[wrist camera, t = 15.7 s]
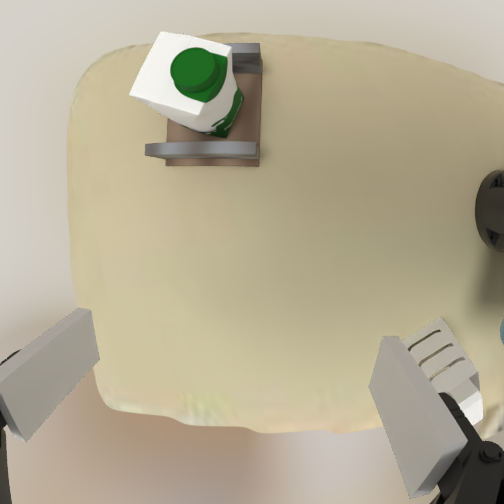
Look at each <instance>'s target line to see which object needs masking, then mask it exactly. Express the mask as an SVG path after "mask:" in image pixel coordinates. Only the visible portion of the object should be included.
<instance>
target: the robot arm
mask: <svg viewBox="0 0 504 504" xmlns="http://www.w3.org/2000/svg"><path fill="white" fill-rule="evenodd" d="M476 222H477V227H478V231H479V233H480V236H481V238H482V239H483V241H484V242H485V243H486V244H487V245H488V246H489V247H490V248H492V249H495V250H497V251H500V252H504V170H498V171H494V172H492V173H490V174H489V175H488V176H487V177H486V178H485V179H484V181H483V183H482V184H481V186H480V189H479V192H478V195H477V200H476ZM500 337H501V340H502V343H503V345H504V318H503V321H502V324H501V327H500ZM99 360H100V357H99V352H98V347H97V342H96V337H95V331H94V325H93V319H92V312H91V310H88V309H83V308H78V309H76V310H75V311H74V312H72V313H71V314H69V315H68V316H66V317H65V318H64V319H62V320H61V321H59V322H58V323H57V324H55V325H54V326H53V327H51V328H50V329H48V330H47V331H46V332H44V333H43V334H42V335H40V336H39V337H38V338H36V339H35V340H33V341H32V342H31V343H30V344H28V345H27V346H25V347H24V348H23V349H21V350H18V351H16V352H14V353H13V354H11V355H10V356H9V357H8V358H7V359H5V360H4V361H2V362H1V364H0V504H12V501H11V494H10V487H9V479H8V467H7V451H6V434H5V431H4V429H3V427H5V426H6V425H8V427H9V429H10V430H11V432H12V434H13V435H14V436H15V437H17V438H19V439H20V440H22V441H24V442H27V441H28V440H29V439H30V438H31V436H32V435H33V434H34V433H35V432H36V430H37V429H38V428H39V427H40V426H41V425H42V423H43V422H44V421H45V420H46V419H47V417H49V415H50V414H51V413H52V412H53V411H54V410H55V409H56V407H57V406H58V405H59V404H60V403H61V402H62V401H63V400H64V398H65V397H66V396H67V395H68V394H69V393H70V392H71V390H72V389H73V388H74V387H75V386H76V385H77V384H78V383H79V382H80V381H81V379H82V378H83V377H84V376H85V375H86V374H87V373H88V372H89V370H91V368H92V367H93V366H94V365H95V364H96V363H97V362H98V361H99ZM369 389H370V392H371V394H372V397H373V399H374V402H375V404H376V407H377V409H378V412H379V414H380V417H381V420H382V422H383V425H384V427H385V430H386V433H387V435H388V438H389V441H390V444H391V446H392V449H393V452H394V455H395V457H396V460H397V463H398V465H399V469H400V471H401V474H402V477H403V480H404V483H405V486H406V489H407V492H408V495H409V498H410V499H411V498H416V497H420V496H424V495H427V494H430V492H431V491H432V490H433V489H434V488H435V486H436V485H438V487H439V489H440V492H439V494H438V495H437V496H436V497H435V498H434V499H433V501H432V502H431V503H430V504H504V451H503V450H502V448H501V447H500V446H499V445H497V444H496V443H493V442H490V441H482V440H481V438H480V437H479V435H478V434H477V432H476V430H475V429H474V428H473V426H472V424H471V423H470V421H469V420H468V418H467V417H465V414H464V413H463V411H462V410H460V407H459V405H458V404H457V402H456V401H455V399H453V398H452V397H451V396H449V395H448V394H447V393H445V392H441V393H437V391H436V390H435V388H434V387H433V385H432V384H431V382H430V381H429V379H428V378H427V376H426V375H425V373H424V372H423V371H422V369H421V368H420V366H419V365H418V363H417V362H416V360H415V359H414V358H413V356H412V355H411V353H410V352H409V351H408V349H407V348H406V346H405V345H404V344H403V342H402V341H401V339H400V338H399V337H398V336H383V337H382V341H381V345H380V349H379V353H378V356H377V360H376V364H375V367H374V371H373V374H372V377H371V381H370V384H369Z"/></svg>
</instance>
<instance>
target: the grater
mask: <svg viewBox="0 0 504 504" xmlns="http://www.w3.org/2000/svg"><path fill="white" fill-rule="evenodd" d="M438 329H440V330H441V332H438V333H435V334H433V335H432V336H430V337H429V338H427V339H425V340H424V341H422V342H421V343H419V344H417V345H416V346H414V347H413V348H412V349H411V351H410V353H411V355H412V356H413V358H414V359H415V360H416V362H417V363H418V364H419V363H420V362H421V360H423V359H424V358H426V357H428V356H429V355H431V354H432V353H434V352H436V351H437V350H439V349H440V348H442V347H443V346H445V345H447V344H448V347H447V348H446V349H444V350H442V351H441V352H439V353H438V354H436V355H435V356H433V357H432V358H430V359H428V360H427V361H425V362H424V363H423V364H422V366H421V367H420V368H421V369H422V371H423V372H424V373H425V375H426V376H427V378H428V379H429V378H430V377H431V376H432V375H433V374H435V373H436V372H438V371H440V370H441V369H443V368H445V367H447V366H449V367H450V368H448V369H445V370H444V371H442V372H441V373H439V374H437V375H436V376H434V377H432V378H431V379H429V381H430V382H431V384H432V385H433V387H434V388H435V390H436V391H437V393H441V392H445V393H447V394H448V395H449V396H451V397H453V398H454V399H455V401H456V402H457V404H458V405H459V407H460V410H462V411H463V413H464V414H465V417H467V418H468V420H469V421H470V423H471V424H472V426H473V425H474V424H475V423H477V422H478V421H480V420H481V419H483V406H482V396H481V394H480V386H479V375H478V370H477V369H476V367H475V366H474V364H473V363H472V361H471V360H470V358H469V356H468V355H467V353H466V352H465V350H464V349H463V347H462V346H461V344H460V343H459V342H458V340H457V339H456V337H455V336H454V334H453V333H452V331H451V330H450V329H449V327H448V326H447V324H446V323H445V322H444V320H443V319H442V317H439V318H438V319H436V320H435V321H433V322H432V323H430V324H429V325H427V326H425V327H424V328H422V329H421V330H419V331H417V332H416V333H414V334H413V335H411V336H409V337H408V338H406V339H404V340H402V342H403V344H404V345H405V346H406V348H407V349H408V348H409V347H410V346H411V345H412V344H414V343H415V342H417V341H419V340H420V339H422V338H424V337H425V336H427V335H428V334H430V333H432V332H433V331H435V330H438Z"/></svg>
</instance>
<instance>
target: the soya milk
mask: <svg viewBox="0 0 504 504" xmlns="http://www.w3.org/2000/svg"><path fill="white" fill-rule="evenodd" d="M129 95H130V96H132V97H134V98H136V99H138V100H140V101H141V102H143V103H145V104H146V105H148V106H150V107H151V108H153V109H155V110H156V111H157V112H159V113H160V114H163V115H164V116H166V117H167V118H169V119H171V120H173V121H174V122H176V123H178V124H180V125H181V126H183V127H185V128H188V129H191V130H194V131H196V132H200V133H203V134H206V135H211V136H216V137H221V138H227V136H228V133H229V131H230V129H231V126H232V124H233V122H234V120H235V117H236V115H237V113H238V111H239V109H240V106H241V104H242V102H243V100H244V98H245V97H244V95H243V94H242V92H241V90H240V89H239V87H238V85H237V83H236V80H235V77H234V75H233V72H232V47H231V46H227V45H224V44H220V43H217V42H213V41H209V40H205V39H201V38H197V37H193V36H190V35H186V34H183V35H179V34H174V33H169V32H163V31H161V32H160V34H159V36H158V38H157V39H156V41H155V43H154V45H153V47H152V49H151V50H150V52H149V54H148V56H147V58H146V60H145V62H144V64H143V66H142V68H141V70H140V72H139V74H138V76H137V78H136V80H135V83H134V85H133V87H132V89H131V91H130V94H129Z"/></svg>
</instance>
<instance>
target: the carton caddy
mask: <svg viewBox="0 0 504 504" xmlns="http://www.w3.org/2000/svg"><path fill="white" fill-rule="evenodd" d="M224 45H227V46H231V47H232V72H233V75H234V77H235V80H236V83H237V85H238V87H239V89H240V90H241V92H242V94H243V95H244V97H245V98H244V100H243V102H242V104H241V106H240V109H239V111H238V113H237V115H236V117H235V120H234V122H233V124H232V126H231V129H230V131H229V133H228V136H227V138H221V137H216V136H211V135H206V134H203V133H200V132H196V131H194V130H191V129H188V128H185V127H183V126H181V125H180V124H178V123H176V122H174V121H173V120H171V119H169V118H168V124H167V142H166V143H152V144H145V156H151V157H156V158H162V159H166V166H258V167H259V142H260V114H261V86H262V59H261V52H260V43H228V44H224Z"/></svg>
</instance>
